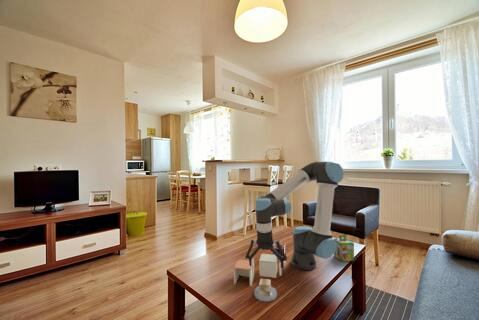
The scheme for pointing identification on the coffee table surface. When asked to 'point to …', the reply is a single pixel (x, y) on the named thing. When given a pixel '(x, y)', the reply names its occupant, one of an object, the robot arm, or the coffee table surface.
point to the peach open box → (243, 270)
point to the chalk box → (344, 249)
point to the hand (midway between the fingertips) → (266, 273)
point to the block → (265, 287)
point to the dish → (263, 297)
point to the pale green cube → (268, 265)
